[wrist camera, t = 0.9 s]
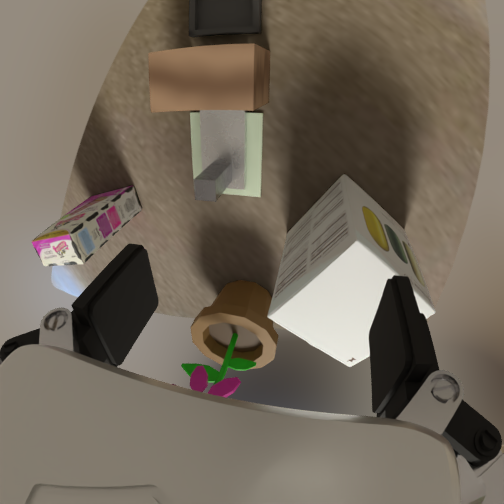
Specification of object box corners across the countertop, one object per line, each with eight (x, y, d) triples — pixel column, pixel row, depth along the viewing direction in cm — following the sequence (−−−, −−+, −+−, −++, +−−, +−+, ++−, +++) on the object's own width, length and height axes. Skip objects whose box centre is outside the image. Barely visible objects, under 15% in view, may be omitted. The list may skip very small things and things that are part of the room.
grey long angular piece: (201, 52, 31) (174, 49, 25) (247, 50, 30) (229, 44, 24) (205, 184, 42) (183, 207, 36) (245, 187, 41) (230, 212, 35)
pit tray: (194, -7, 27) (189, -10, 26) (261, -13, 26) (259, -16, 24) (193, 37, 31) (188, 36, 30) (260, 33, 29) (258, 31, 28)
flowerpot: (278, 268, 49) (232, 447, 24) (290, 328, 56) (259, 479, 32) (199, 272, 53) (120, 420, 29) (221, 327, 60) (169, 460, 36)
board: (191, 112, 37) (190, 112, 37) (263, 113, 36) (262, 113, 35) (195, 190, 44) (194, 191, 44) (260, 196, 42) (260, 197, 42)
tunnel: (185, 54, 33) (148, 53, 25) (270, 51, 31) (254, 43, 23) (186, 102, 37) (151, 112, 29) (268, 102, 35) (253, 110, 27)
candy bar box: (133, 182, 45) (69, 233, 32) (143, 209, 48) (85, 265, 35) (89, 194, 49) (29, 241, 35) (99, 218, 51) (43, 268, 38)
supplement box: (407, 229, 40) (439, 313, 26) (347, 281, 47) (349, 369, 33) (343, 170, 38) (356, 237, 23) (284, 234, 45) (263, 318, 31)
